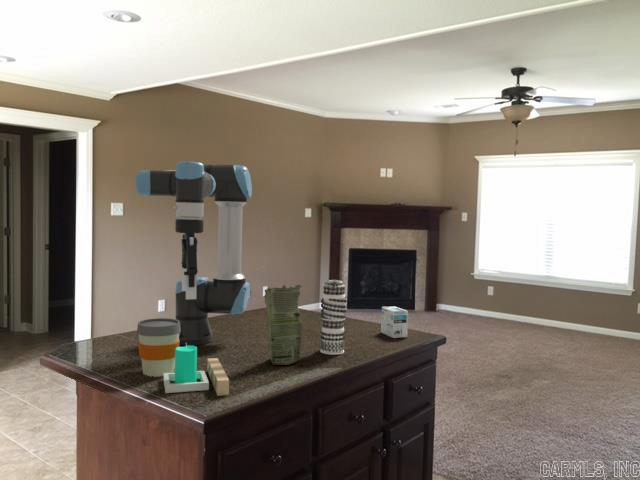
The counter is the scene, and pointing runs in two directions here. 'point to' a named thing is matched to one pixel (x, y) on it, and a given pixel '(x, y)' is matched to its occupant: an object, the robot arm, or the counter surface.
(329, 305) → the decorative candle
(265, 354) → the counter surface
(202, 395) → the counter surface
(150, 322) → the reusable coffee cup
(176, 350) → the candle
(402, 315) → the light bulb box
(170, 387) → the frame
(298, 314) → the pouch
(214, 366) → the edge strip
